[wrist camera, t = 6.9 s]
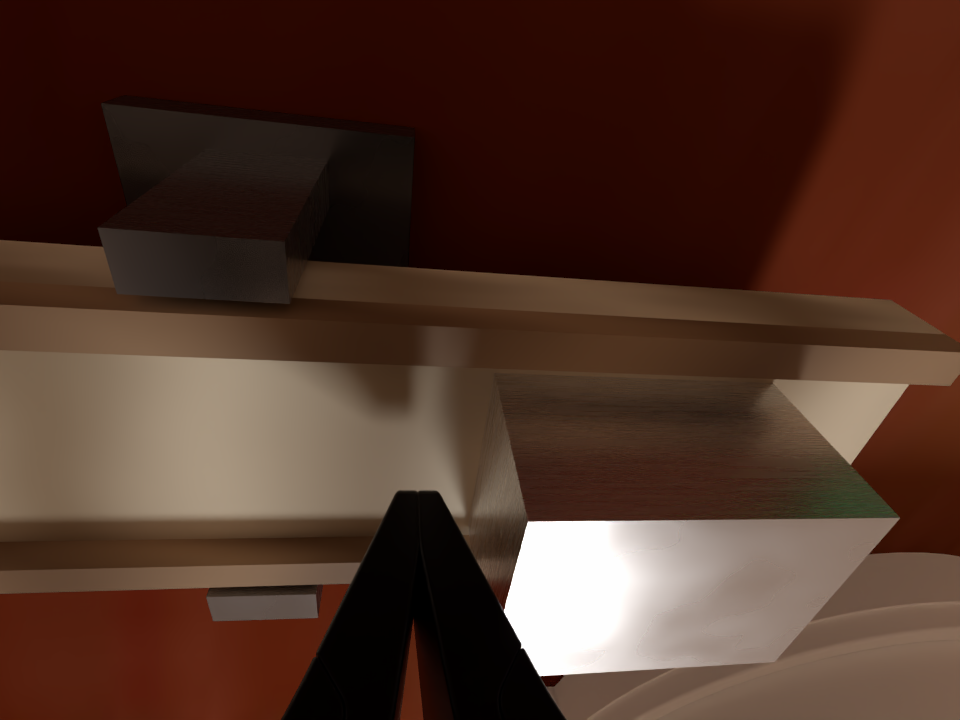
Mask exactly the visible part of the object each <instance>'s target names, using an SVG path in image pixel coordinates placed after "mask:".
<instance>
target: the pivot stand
mask: <svg viewBox="0 0 960 720" xmlns="http://www.w3.org/2000/svg"><path fill="white" fill-rule="evenodd" d="M101 105H102V109H103V113H104V117H105V121H106V125H107V129H108V133H109V137H110V141H111V144H112V148H113V152H114V156H115V160H116V164H117V168H118V172H119V176H120V180H121V184H122V187H123V191H124V195H125V199H126V203H127V206H126V207H125V208H124V209H122V210H121V211H120V212H118V213H117V214H115V215H114V216H113V217H111V218H110V219H109V220H107V221H106V222H104V223H103V224H102V225H100V226H99V227H97V228H98V231H99V235H100V238H101V242H102V245H103V248H104V252H105V255H106V259H107V262H108V265H109V269H110V272H111V275H112V279H113V282H114V286H115V289H116V292H117V294H124V295H141V296H159V297H176V298H193V299H211V300H228V301H245V302H263V303H280V304H290V303H291V300H292V298H293V295H294V293H295V290H296V288H297V285H298V283H299V280H300V278H301V276H302V273H303V271H304V268H305V266H306V263H307V261H319V262H334V263H349V264H363V265H378V266H393V267H408V259H409V239H410V219H411V200H412V180H413V160H414V141H415V128H411V127H402V126H393V125H384V124H375V123H366V122H358V121H349V120H340V119H331V118H322V117H313V116H304V115H295V114H286V113H277V112H268V111H259V110H250V109H241V108H233V107H224V106H215V105H206V104H197V103H188V102H179V101H170V100H161V99H152V98H143V97H134V96H125V95H124V96H121V97H118V98H115V99H112V100H109V101H106V102H103V103H101ZM322 589H323V584H318V585H284V586H249V587H215V588H209V591H208V594H207V597H206V598H207V601H208V605H209V608H210V611H211V615H212V618H213V621H233V620H264V619H296V618H318V614H319V608H320V601H321V595H322Z"/></svg>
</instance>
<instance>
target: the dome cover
mask: <svg viewBox="0 0 960 720" xmlns="http://www.w3.org/2000/svg"><path fill="white" fill-rule="evenodd" d="M546 688H547V690H548V691H549V693H550V695H551V696H552V698H553V700H554V701H555V703H556V704H557V706H558V707H559V709H560V710H561V712H562V713H563V715H564V716H565V718H566V719H567V720H960V556H954V555H948V554H936V553H916V552H898V553H882V554H868V556H867V557H866V558H865V559H864V560H863V561H862V562H861V564H860V565H859V566H858V567H857V568H856V569H855V570H854V572H853V573H852V574H851V575H850V576H849V577H848V579H847V580H846V581H845V582H844V583H843V584H842V585H841V587H840V588H839V589H838V590H837V591H836V592H835V593H834V595H833V596H832V597H831V598H830V599H829V600H828V601H827V603H826V604H825V605H824V606H823V607H822V608H821V609H820V611H819V612H818V613H817V614H816V615H815V616H814V617H813V619H812V620H811V621H810V622H809V623H808V624H807V625H806V627H805V628H804V629H803V630H802V631H801V632H800V633H799V635H798V636H797V637H796V638H795V639H794V640H793V641H792V643H791V644H790V645H789V646H788V647H787V648H786V650H785V651H784V652H783V653H782V654H781V655H780V656H779V658H778V659H777V660H776V661H775V662H767V663H750V664H734V665H717V666H700V667H684V668H667V669H650V670H634V671H617V672H600V673H584V674H567V675H565V676H564V677H563V678H562V679H561V680H560V681H559V682H558V683H557V684H556V685H555V686H554V687H546Z"/></svg>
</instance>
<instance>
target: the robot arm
mask: <svg viewBox="0 0 960 720" xmlns="http://www.w3.org/2000/svg"><path fill="white" fill-rule="evenodd" d="M413 619H414V630H415V639H416V649H417V659H418V669H419V679H420V689H421V698H422V708H423V718H424V720H567V719H566V718H565V716H564V715H563V713H562V712H561V710H560V709H559V707H558V706H557V704H556V703H555V701H554V700H553V698H552V696H551V695H550V693H549V691H548V690H547V688H546V686H545V684H544V683H543V681H542V679H541V677H540V676H539V674H538V672H537V671H536V669H535V667H534V665H533V663H532V662H531V660H530V658H529V656H528V654H527V652H526V650H525V649H524V648H521V646H522V644H521V642H520V640H519V638H518V636H517V634H516V632H515V631H514V629H513V627H512V625H511V623H510V621H509V620H508V618H507V616H506V614H505V612H504V610H503V608H502V607H501V605H500V603H499V601H498V599H497V597H496V596H495V594H494V592H493V590H492V588H491V586H490V584H489V583H488V581H487V579H486V577H485V575H484V573H483V572H482V570H481V568H480V566H479V564H478V562H477V560H476V559H475V557H474V555H473V553H472V551H471V549H470V548H469V546H468V544H467V542H466V540H465V538H464V536H463V535H462V533H461V531H460V529H459V527H458V525H457V524H456V522H455V520H454V518H453V516H452V514H451V513H450V511H449V509H448V507H447V505H446V503H445V501H444V500H443V498H442V496H441V494H440V493H439V492H438V491H436V490H420V491H418V492H417V491H416V490H399V491H397V492H396V493H395V495H394V497H393V499H392V501H391V503H390V505H389V507H388V509H387V511H386V513H385V515H384V517H383V519H382V521H381V523H380V525H379V527H378V529H377V531H376V533H375V535H374V537H373V539H372V541H371V543H370V545H369V547H368V549H367V551H366V553H365V555H364V557H363V559H362V561H361V563H360V565H359V568H358V570H357V572H356V574H355V576H354V578H353V580H352V582H351V584H350V586H349V588H348V590H347V592H346V594H345V596H344V598H343V600H342V602H341V604H340V606H339V608H338V610H337V612H336V614H335V616H334V618H333V620H332V622H331V624H330V626H329V628H328V630H327V632H326V634H325V636H324V638H323V640H322V642H321V644H320V646H319V648H318V650H317V652H316V657H314V658H313V660H312V662H311V664H310V666H309V668H308V670H307V672H306V674H305V676H304V678H303V680H302V682H301V684H300V685H299V687H298V689H297V691H296V693H295V695H294V697H293V699H292V701H291V702H290V704H289V706H288V708H287V710H286V712H285V714H284V715H283V717H282V719H281V720H400V714H401V707H402V700H403V692H404V685H405V677H406V670H407V662H408V655H409V647H410V640H411V632H412V625H413Z"/></svg>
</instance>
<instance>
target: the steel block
mask: <svg viewBox="0 0 960 720" xmlns="http://www.w3.org/2000/svg"><path fill="white" fill-rule="evenodd" d="M899 519H900V517H899V516H898V515H897V514H896V513H895V512H894V511H893V510H892V509H891V508H890V506H889V505H888V504H887V503H886V502H885V501H884V500H883V499H882V498H881V497H880V496H879V495H878V494H877V493H876V492H875V491H874V490H873V488H872V487H871V486H870V485H869V484H868V483H867V482H866V481H865V480H864V479H863V478H862V477H861V476H860V475H859V474H858V473H857V472H856V470H855V469H854V468H853V467H852V466H851V465H850V464H849V463H848V462H847V461H846V460H845V459H844V458H843V457H842V456H841V455H840V454H839V452H838V451H837V450H836V449H835V448H834V447H833V446H832V445H831V444H830V443H829V442H828V441H827V440H826V439H825V438H824V437H823V436H822V434H821V433H820V432H819V431H818V430H817V429H816V428H815V427H814V426H813V425H812V424H811V423H810V422H809V421H808V420H807V419H806V418H805V416H804V415H803V414H802V413H801V412H800V411H799V410H798V409H797V408H796V407H795V406H794V405H793V404H792V403H791V402H790V401H789V400H788V398H787V397H786V396H785V395H784V394H783V393H782V392H781V391H780V390H779V389H778V388H777V387H776V386H775V385H774V384H773V383H756V382H728V381H701V380H673V379H646V378H619V377H591V376H564V375H537V374H509V373H494V378H493V384H492V389H491V395H490V401H489V407H488V413H487V418H486V424H485V430H484V436H483V442H482V447H481V453H480V459H479V465H478V471H477V476H476V482H475V488H474V494H473V500H472V505H471V511H470V517H469V523H468V526H469V535H470V544H471V551H472V553H473V555H474V557H475V559H476V560H477V562H478V564H479V566H480V568H481V570H482V572H483V573H484V575H485V577H486V579H487V581H488V583H489V584H490V586H491V588H492V590H493V592H494V594H495V596H496V597H497V599H498V601H499V603H500V605H501V607H502V608H503V610H504V612H505V614H506V616H507V618H508V620H509V621H510V623H511V625H512V627H513V629H514V631H515V632H516V634H517V636H518V638H519V640H520V642H521V644H522V646H521V648H524V649H525V650H526V652H527V654H528V656H529V658H530V660H531V662H532V663H533V665H534V667H535V669H536V671H537V672H538V674H539V676H550V675H567V674H584V673H600V672H617V671H634V670H650V669H667V668H684V667H700V666H717V665H734V664H750V663H767V662H775V661H776V660H777V659H778V658H779V656H780V655H781V654H782V653H783V652H784V651H785V650H786V648H787V647H788V646H789V645H790V644H791V643H792V641H793V640H794V639H795V638H796V637H797V636H798V635H799V633H800V632H801V631H802V630H803V629H804V628H805V627H806V625H807V624H808V623H809V622H810V621H811V620H812V619H813V617H814V616H815V615H816V614H817V613H818V612H819V611H820V609H821V608H822V607H823V606H824V605H825V604H826V603H827V601H828V600H829V599H830V598H831V597H832V596H833V595H834V593H835V592H836V591H837V590H838V589H839V588H840V587H841V585H842V584H843V583H844V582H845V581H846V580H847V579H848V577H849V576H850V575H851V574H852V573H853V572H854V570H855V569H856V568H857V567H858V566H859V565H860V564H861V562H862V561H863V560H864V559H865V558H866V557H867V556H868V554H869V553H870V552H871V551H872V550H873V549H874V548H875V546H876V545H877V544H878V543H879V542H880V541H881V540H882V538H883V537H884V536H885V535H886V534H887V533H888V532H889V530H890V529H891V528H892V527H893V526H894V525H895V524H896V522H897V521H898V520H899Z"/></svg>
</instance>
